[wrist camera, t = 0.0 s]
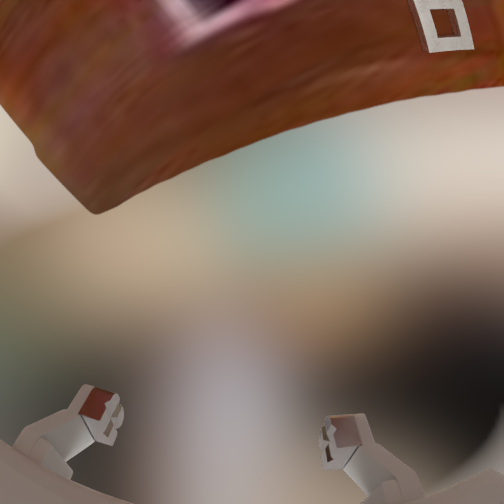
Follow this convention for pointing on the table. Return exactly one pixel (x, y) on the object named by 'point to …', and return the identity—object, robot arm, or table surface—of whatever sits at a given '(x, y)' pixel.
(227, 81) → the table surface
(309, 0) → the table surface
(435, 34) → the aluminium jig
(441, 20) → the table surface
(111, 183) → the table surface
